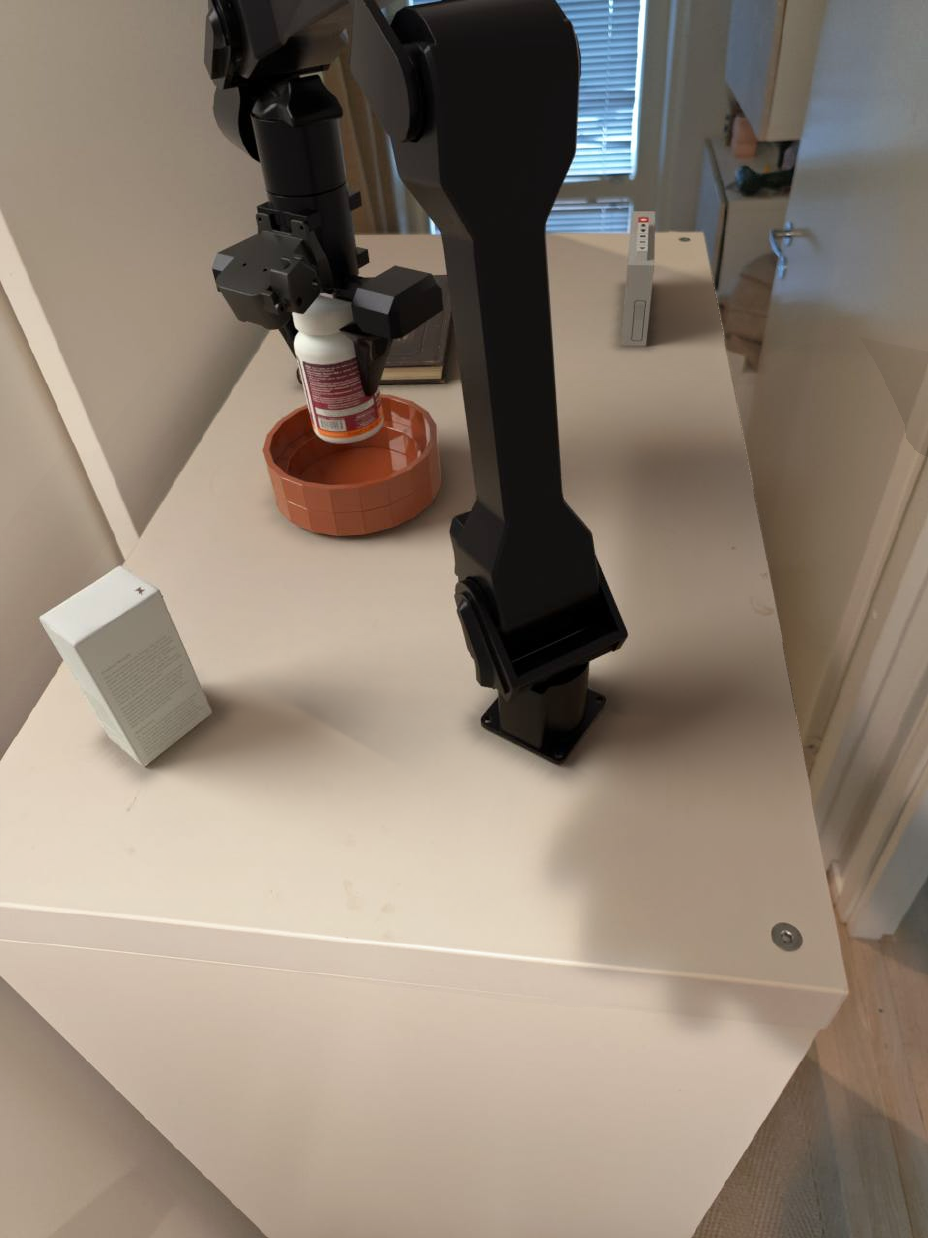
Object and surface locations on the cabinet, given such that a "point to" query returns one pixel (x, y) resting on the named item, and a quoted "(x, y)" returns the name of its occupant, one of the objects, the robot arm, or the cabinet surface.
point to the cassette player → (639, 278)
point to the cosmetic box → (129, 663)
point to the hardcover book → (420, 349)
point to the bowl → (355, 471)
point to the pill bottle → (333, 375)
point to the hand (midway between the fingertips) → (341, 384)
